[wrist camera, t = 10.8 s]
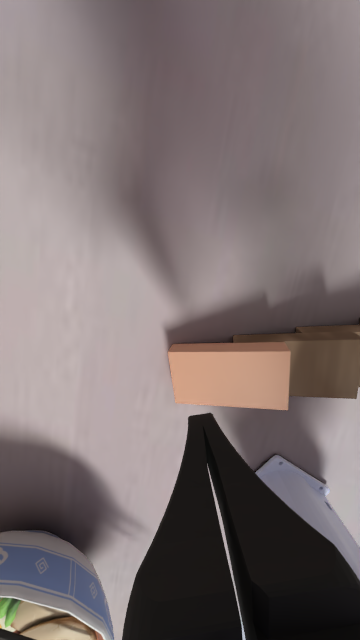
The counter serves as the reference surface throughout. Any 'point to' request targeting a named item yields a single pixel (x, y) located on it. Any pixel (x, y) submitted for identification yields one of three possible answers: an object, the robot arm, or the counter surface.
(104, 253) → the counter surface
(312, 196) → the counter surface
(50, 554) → the ramen bowl
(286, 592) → the robot arm
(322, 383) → the domino
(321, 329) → the domino
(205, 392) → the orange tan rectangular block
